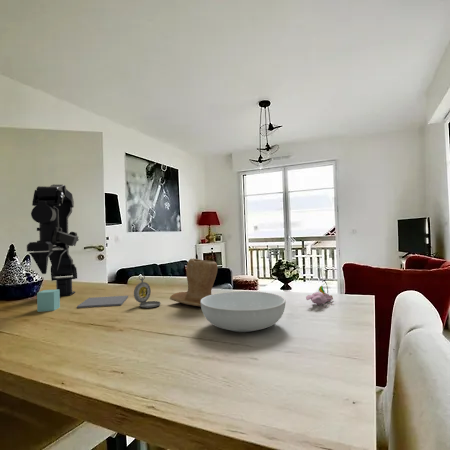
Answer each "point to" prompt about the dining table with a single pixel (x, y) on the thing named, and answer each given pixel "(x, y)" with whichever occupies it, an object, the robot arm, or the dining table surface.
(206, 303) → the serving bowl
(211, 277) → the tan curved piece
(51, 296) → the teal block
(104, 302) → the charcoal mat
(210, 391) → the dining table surface
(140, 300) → the pocket watch
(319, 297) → the stuffed toy
